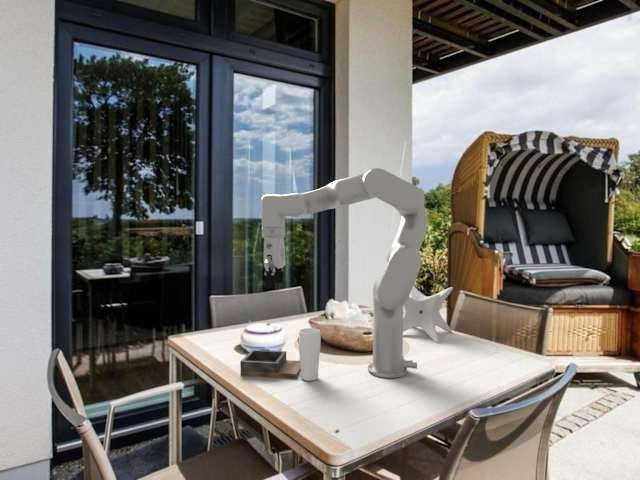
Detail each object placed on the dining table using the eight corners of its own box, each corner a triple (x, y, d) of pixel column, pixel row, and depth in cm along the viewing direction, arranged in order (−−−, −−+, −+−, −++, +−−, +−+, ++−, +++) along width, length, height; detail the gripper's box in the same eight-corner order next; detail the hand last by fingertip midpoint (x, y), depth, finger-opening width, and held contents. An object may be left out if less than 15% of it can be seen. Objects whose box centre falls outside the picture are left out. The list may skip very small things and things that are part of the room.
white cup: (317, 383, 128) (318, 334, 127) (296, 381, 129) (296, 333, 129) (322, 375, 135) (322, 328, 134) (301, 373, 136) (301, 327, 135)
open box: (303, 365, 144) (303, 352, 143) (296, 378, 132) (296, 364, 131) (252, 362, 146) (252, 349, 146) (240, 375, 134) (240, 361, 134)
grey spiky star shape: (452, 332, 186) (453, 287, 185) (438, 343, 169) (439, 294, 168) (408, 326, 196) (408, 283, 195) (391, 336, 179) (392, 289, 178)
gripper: (277, 234, 128) (278, 290, 129) (291, 231, 145) (292, 281, 146) (253, 234, 130) (254, 289, 131) (270, 232, 147) (270, 281, 148)
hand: (274, 285), depth 139 cm, fingers open, 9 cm apart
